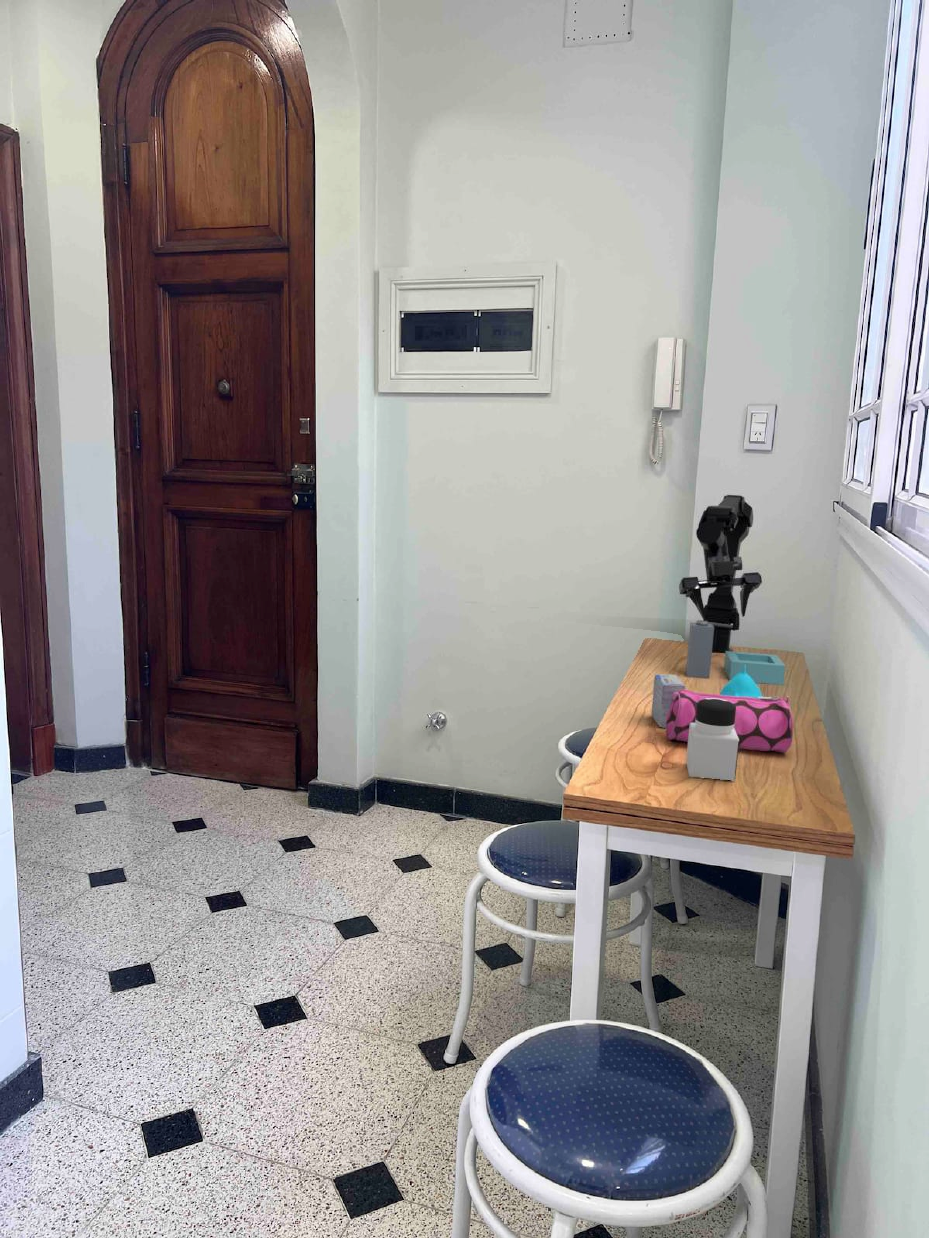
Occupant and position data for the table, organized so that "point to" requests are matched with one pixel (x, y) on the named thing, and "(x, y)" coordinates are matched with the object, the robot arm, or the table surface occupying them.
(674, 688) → the medicine box
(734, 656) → the teal base brick
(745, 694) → the toy shark
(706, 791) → the table surface
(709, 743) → the medicine bottle
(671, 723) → the pencil case
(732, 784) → the table surface
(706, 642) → the grey knobbed block
